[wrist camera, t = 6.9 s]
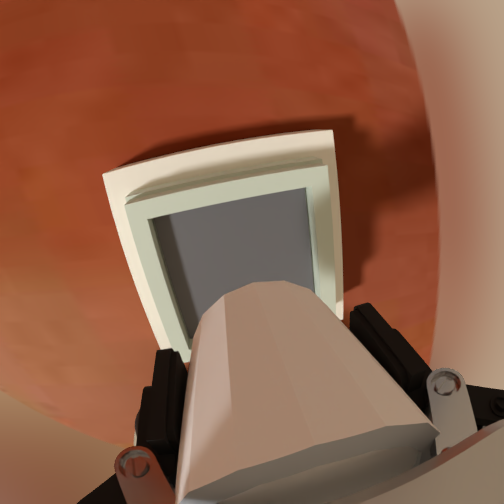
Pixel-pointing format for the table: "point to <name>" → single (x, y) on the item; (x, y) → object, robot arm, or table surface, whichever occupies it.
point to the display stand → (229, 225)
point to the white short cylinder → (289, 406)
